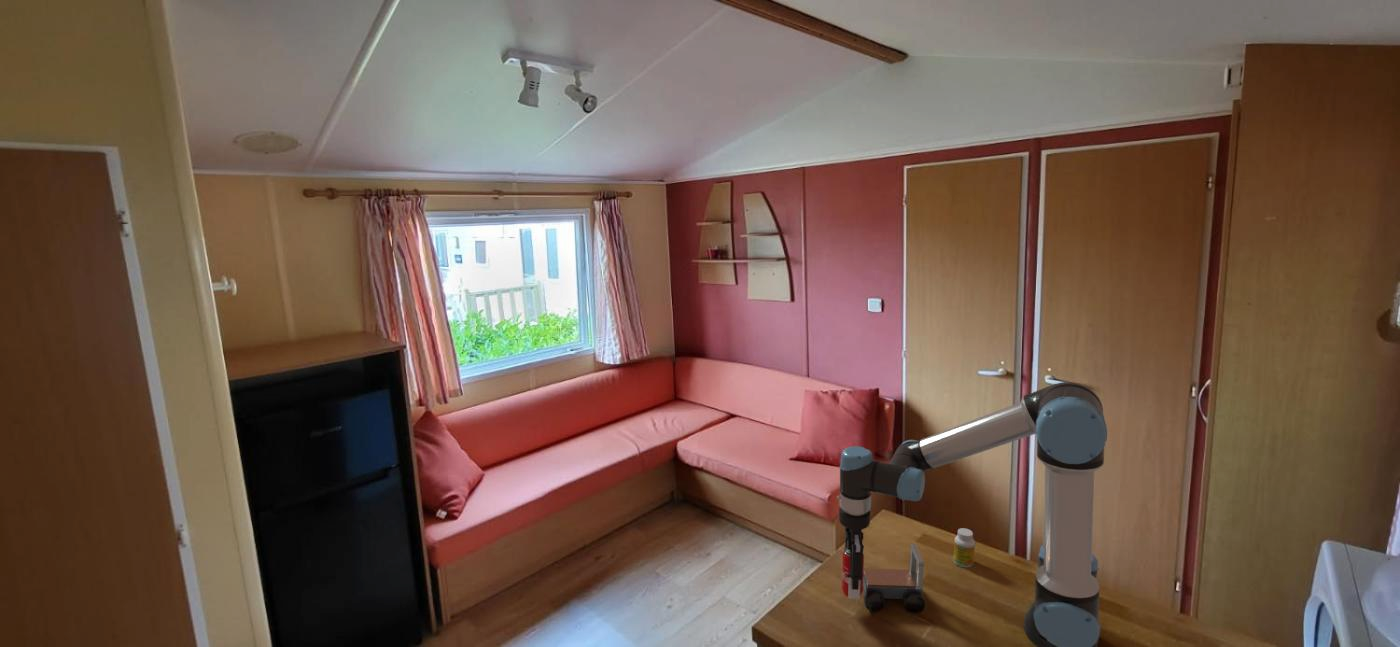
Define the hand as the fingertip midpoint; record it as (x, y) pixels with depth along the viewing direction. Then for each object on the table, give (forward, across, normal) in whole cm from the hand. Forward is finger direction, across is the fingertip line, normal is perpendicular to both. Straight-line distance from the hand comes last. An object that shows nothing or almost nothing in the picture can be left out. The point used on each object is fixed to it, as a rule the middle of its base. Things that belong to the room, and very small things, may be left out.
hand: (852, 590), depth 156 cm
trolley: (+5, -4, +11) cm, 13 cm away
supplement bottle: (+5, -22, +35) cm, 41 cm away
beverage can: (+1, 0, 0) cm, 1 cm away
